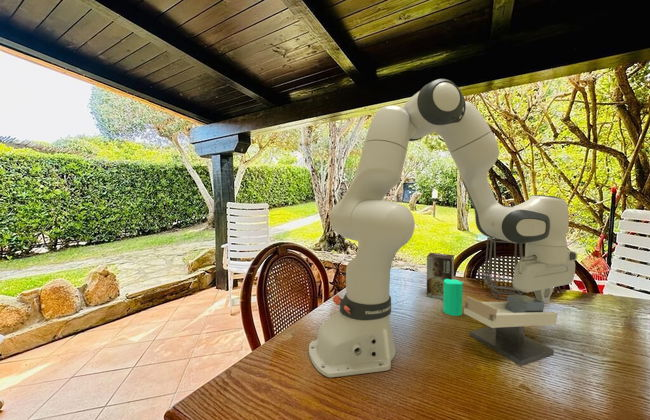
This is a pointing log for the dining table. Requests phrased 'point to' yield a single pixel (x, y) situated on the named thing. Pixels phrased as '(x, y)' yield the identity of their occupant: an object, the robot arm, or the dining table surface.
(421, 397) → the dining table surface
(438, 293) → the coffee box
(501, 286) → the geometric lantern
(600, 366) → the dining table surface
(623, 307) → the dining table surface
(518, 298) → the block
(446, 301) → the candle
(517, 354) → the pivot stand
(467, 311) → the beam
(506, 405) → the dining table surface
